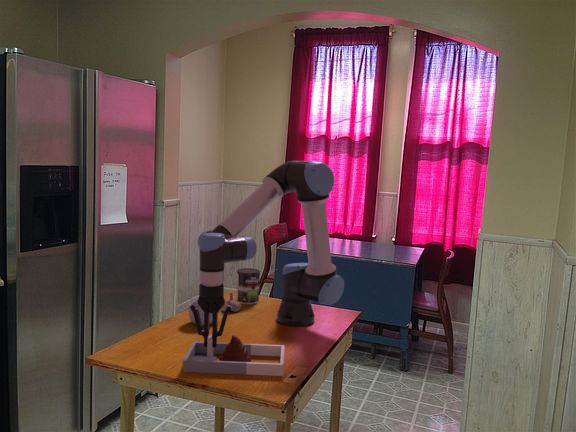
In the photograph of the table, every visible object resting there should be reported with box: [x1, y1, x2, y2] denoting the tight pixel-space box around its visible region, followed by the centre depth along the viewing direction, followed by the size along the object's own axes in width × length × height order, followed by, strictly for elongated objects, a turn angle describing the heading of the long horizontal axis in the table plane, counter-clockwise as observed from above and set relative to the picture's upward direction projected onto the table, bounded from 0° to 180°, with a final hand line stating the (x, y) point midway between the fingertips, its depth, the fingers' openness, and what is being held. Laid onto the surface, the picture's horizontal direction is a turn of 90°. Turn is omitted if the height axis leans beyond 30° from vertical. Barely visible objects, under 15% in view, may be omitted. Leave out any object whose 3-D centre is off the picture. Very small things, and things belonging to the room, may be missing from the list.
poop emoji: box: [218, 334, 252, 362], centre depth 160 cm, size 10×8×9 cm
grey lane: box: [182, 341, 252, 376], centre depth 161 cm, size 19×16×4 cm
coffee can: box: [235, 267, 261, 305], centre depth 229 cm, size 10×10×14 cm
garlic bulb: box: [222, 291, 242, 313], centre depth 215 cm, size 8×7×8 cm
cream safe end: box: [246, 343, 285, 377], centre depth 161 cm, size 11×16×4 cm
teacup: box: [188, 300, 223, 326], centre depth 198 cm, size 14×11×8 cm
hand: (210, 356), depth 161 cm, fingers closed
